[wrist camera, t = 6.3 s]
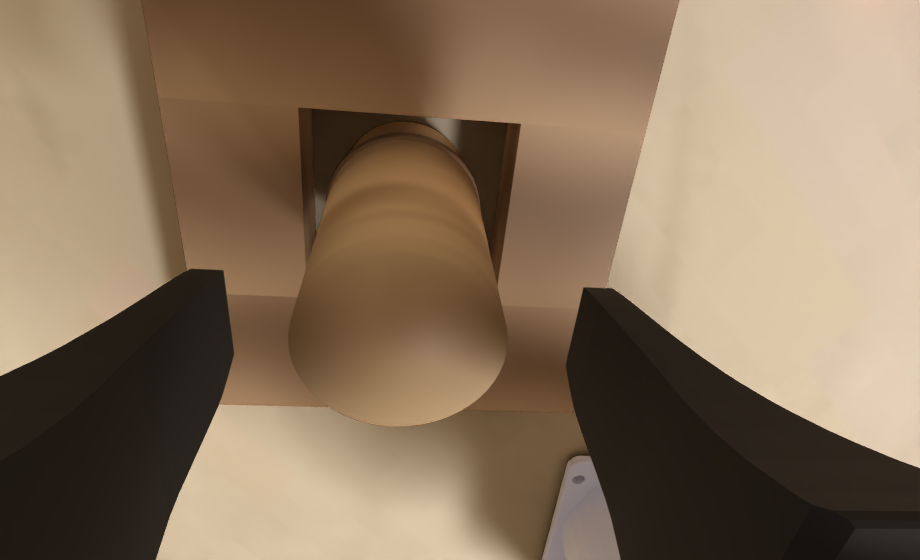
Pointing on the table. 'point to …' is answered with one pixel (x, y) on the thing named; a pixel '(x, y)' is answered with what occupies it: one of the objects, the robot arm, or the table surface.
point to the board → (414, 94)
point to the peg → (399, 285)
